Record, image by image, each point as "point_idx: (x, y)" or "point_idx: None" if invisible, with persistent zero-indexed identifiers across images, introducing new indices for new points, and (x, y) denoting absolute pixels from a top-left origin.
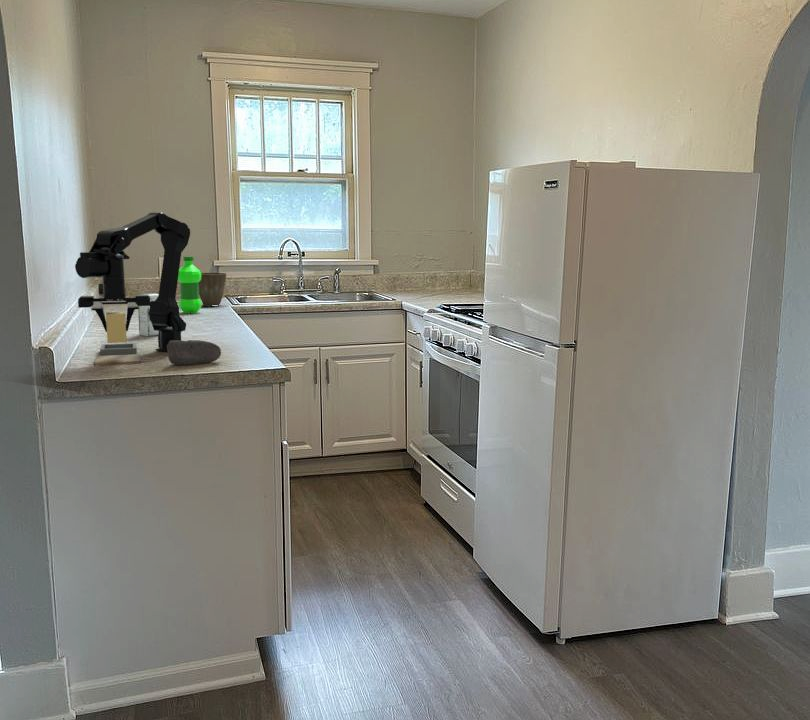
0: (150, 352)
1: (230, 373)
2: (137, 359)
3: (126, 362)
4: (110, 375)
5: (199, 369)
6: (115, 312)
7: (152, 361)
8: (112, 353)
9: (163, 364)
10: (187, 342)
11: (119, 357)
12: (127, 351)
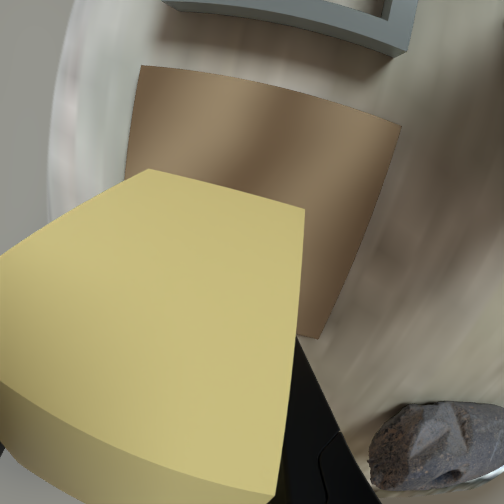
0: (479, 34)
1: (412, 492)
2: (321, 298)
3: None
4: None
5: None
6: (43, 425)
7: (380, 319)
8: (244, 13)
9: (377, 390)
10: (437, 487)
11: (251, 181)
12: (342, 33)
